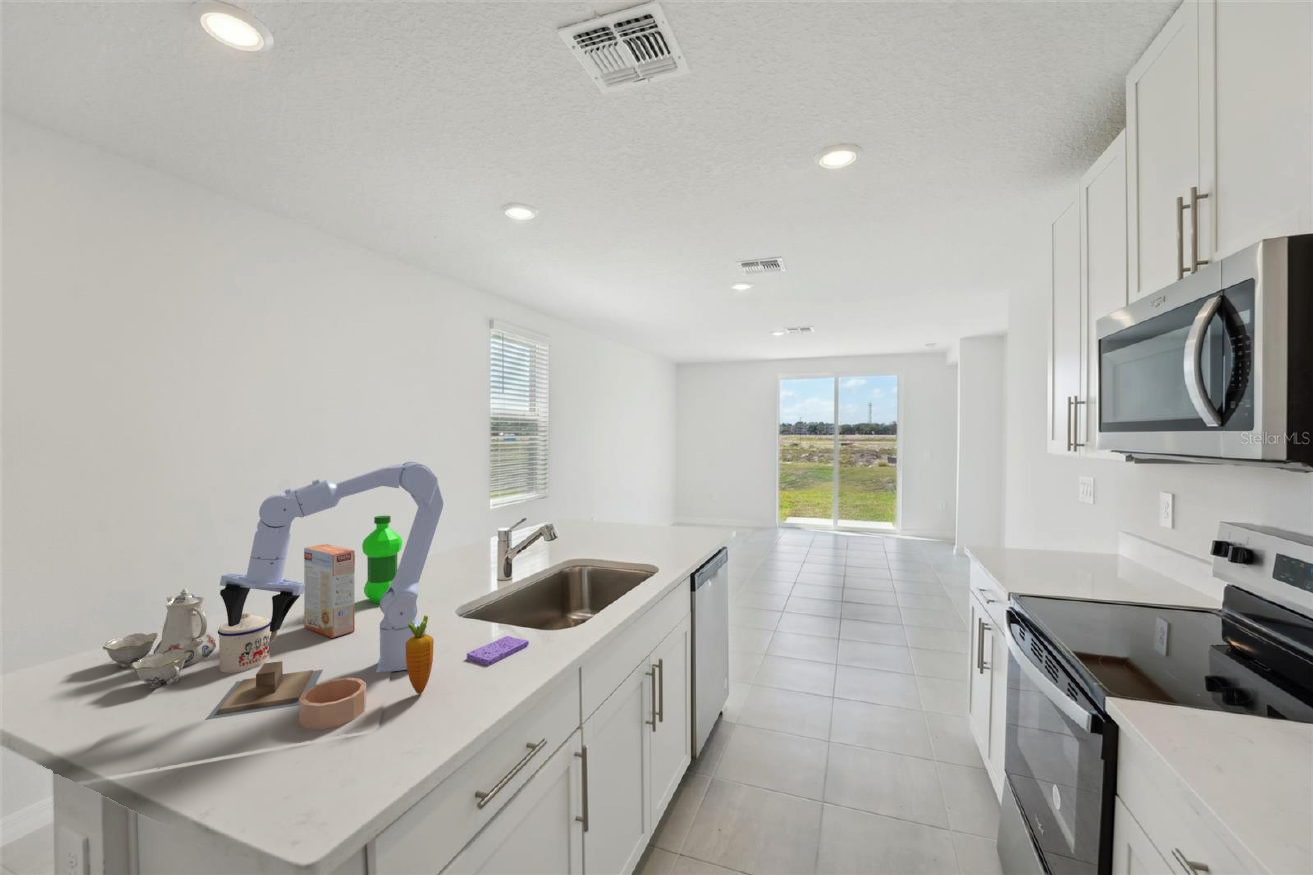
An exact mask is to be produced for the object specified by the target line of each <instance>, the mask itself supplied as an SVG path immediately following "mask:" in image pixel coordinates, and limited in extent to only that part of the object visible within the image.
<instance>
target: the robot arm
mask: <svg viewBox="0 0 1313 875" xmlns="http://www.w3.org/2000/svg"><path fill="white" fill-rule="evenodd" d="M311 483H312V484H309V485H305V486H302V487H298V488H296V489H293V490H292V489H291V488H288V489H287V488H286V489H285V490H284V494H281V493H278V494H277V493H276V494H273V495H270V496H268V497H267V498H265V500H263V501H262V503H261V505H260V506H259V511H258V514H259V521H258V522H257V525H256V532H254V536H253V543H252V547H251V551H250V557H249V562H248V565H247V566H248V567H247V571H246V574H235V573H226V574H222V575H221V576H220V582H219V586H220V587H224V588H222V589H220V591H219V595H220V597H221V599H222V600H223V603H224V606H225V610H226V613H227V614H226V616H227V622H228V626H230V627H232V626H235V625H237V624H239V623H240V620H241V617H242V612H244V607H245V606H244V605H245V603H246V600H247V598H248V596H249V593H250V591H251V589H253V590H259V591H267V592H276V593H278V594H275V595H272V597H271V602H272V611H271V612H272V613H271V620H270V622H271V624H270V626H269V633H270V632H275V631H277V632H278V631H279V630H280V629H281V626H282V625H283V622H284V620H285V618H286V616H287V614H288V613H289V611H290V610H291V608H292V607H293V605H294V604H295V602H297V600H298V599H299V598H300V597H301V595H303V594H304V588H305V584H304V582H298V581H293V580H290V579H286V578H283V575H284V571H285V565H286V561H287V555H288V550H289V545H290V540H291V535H292V534H291V532H290V531H291V526H292V522H293V521H294V520H295V519H296V518H302V519H303V518H304V517H308V516H310V515H314V514H317V513H320V512H322V511H325V510H328V509H331V508H335V507H337V506H338V504H339V502H340V500H341V499H342V498H345V497H348V496H351V495H356V494H360V493H363V492H367V491H370V490H374V489H376V488H381V487H388V488H393V489H400V487H401V488H403V490H404V491H406V492H407V493H408V494H409V495H410V496H411V498H412V499H413V502H415V504H416V506H417V509H416V510H417V511H416V514H415V516H414V519H413V522H412V525H411V528H410V531H409V534H408V537H407V541H406V544H405V546H404V550H403V552H402V555H401V558H400V561H399V563H398V566H397V573H396V576H395V578H394V579H393V580H392V582H391V584H390V587H389V589H388V590H387V592H386V593H385V594H384V595H383V596H382V598H381V600H380V603H379V608H380V610H381V612H382V613H383V617H382V619H381V621H380V623H379V660H378V663H377V666H376V670H375V673H384V672H385V673H386V672H398V671H406V670H407V665H406V642H407V641H408V640H409V639H410V638H411V637H412V636H414V634H413V632H412V631H411V629H410V628H409V627H408V623H410V622H411V621H412V622H413V623H414V625H415V627H416V630H417V626H419V627H420V624H421V622H422V621H423V620H417V618H416V617H417V614H418V607H417V606H418V605H417V599H418V596H419V582H420V580H421V576H422V574H423V570H424V566H425V564H426V561H427V558H428V555H429V552H430V548H431V546H432V542H433V539H434V536H435V532H436V530H437V526H438V523H439V520H440V518H441V514H442V511H443V508H444V499H443V496H442V494H441V490H440V487H439V486H440V485H439V480H438V477H437V476H436V475H435V473H434V472H433V471H432V469H431V468H430V467H428V466H427V465H426V464H422V463H419V462H417V461H406V462H404V463H402V464H401V463H399V464H398V463H397V464H393V465H389V466H383V467H380V468H377V469H374V470H371V471H369V472H366V473H362V474H361V475H357V476H354V477H352V478H349V479H345V480H343V481H339V482H337V483H335V482H332V481H331V480H328V479H327V480H326V479H325V480H320V479H319V478H318V479H315V480H312V482H311ZM423 634H427V628H426V629H425V631H424V633H423ZM407 671H408V670H407Z"/></svg>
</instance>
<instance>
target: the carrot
mask: <svg viewBox="0 0 1313 875" xmlns="http://www.w3.org/2000/svg"><path fill="white" fill-rule="evenodd" d="M428 620H429V616H428V615H424V616H423V619H422V620H421V621H422V622H421V624H420V627H419V626H417V630H416V627H415V625H414V623H413V622H412V621H411V622H410V623H408V627H409V628H410V629H411V631H412V632H413V634H414V636H412V637H411V638H410V639H409V640H408V641H407V642H406V665H407V674H408V677H409V678H408V679H409V681H410V683H411V684H410V685H411V686H412V688H413V689H414V692H415V693H417V695H422V693H424V691H425V688H426V686H427V684H428V682H429V680H430V677H431V671H432V667H433V666H432V665H433V661H434V638H433V636H431V635H429V634H428V633H426V634H423V633H424V631H425V629H426V630H427V626H428V625H427V624H428Z"/></svg>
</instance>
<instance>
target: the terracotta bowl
mask: <svg viewBox="0 0 1313 875" xmlns="http://www.w3.org/2000/svg"><path fill="white" fill-rule="evenodd" d="M366 707H367V683H366V681H364V680H363V679H361V678H356V677H343V678H335V679H329V680H326V681H323V682H321V683H320V682H319V683H318V684H317V683H316V685H314V686H313V687H311V688H309V689H308V690H306V691H304V692H303V693H302V695H301V697H300V699H299V705H298V722H299V725H301V726H302V727H303V728H304V729H308V730H309V729H311V730H323V729H330V728H336V727H339V726H342V725H344V724H347V723H350V722H352V721H355V719H357V718H359V717H360V715H362V714H363V713H364V712H365V710H366Z"/></svg>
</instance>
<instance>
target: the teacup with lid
mask: <svg viewBox="0 0 1313 875" xmlns="http://www.w3.org/2000/svg"><path fill="white" fill-rule="evenodd" d="M270 624H271V620H270V618H268V617H265V616H259V615H255V614H251V611H250V610H249V611H248V610H245V611H244V610H243V612H242V617H241V620H240V623H239V624H237V625H235V626H232V627H230V626H228V621H227V622H226V623H223V624H222V625H220V627H219V628H218V630H217V634H218V641H219V644H218V645H219V646H218V648H219V650H218V652H219V654H218V656H219V672H221V673H226V674H227V673H228V674H229V673H230V674H231V673H241V672H246V671H250V670H254V669H256V668H259V667H262V666H263V665H264V663H269V661H270V658H271V657H270V654H271V653H270V652H271V651H270V649H271V648H270V646H271V644H272V643H273V642H274V641H275V639H276V637H277V634H278V630H277V631H275V632H271V633H270Z"/></svg>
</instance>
